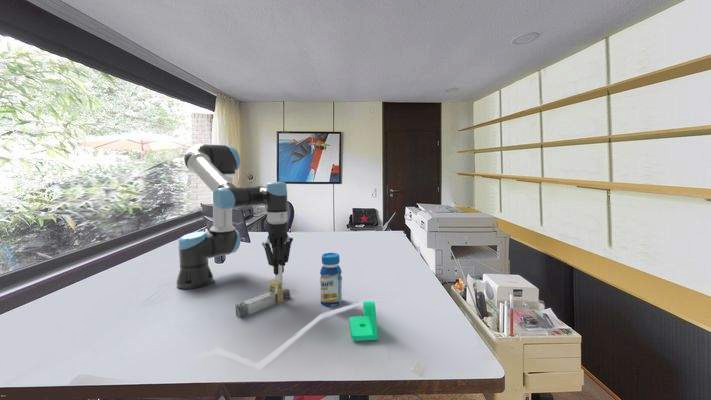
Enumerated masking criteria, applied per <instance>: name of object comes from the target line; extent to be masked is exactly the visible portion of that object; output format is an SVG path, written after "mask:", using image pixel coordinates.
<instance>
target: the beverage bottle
mask: <svg viewBox="0 0 711 400" xmlns="http://www.w3.org/2000/svg"><path fill="white" fill-rule="evenodd" d="M321 264H322V266H321V268H320V272H319V274H320V277H319V283H320V305H322V306H323V307H326V308H335V307H337V308H335V310H336V309H337V310H338V306H340V305H341V304H342V303H343V301H342V298H343V297H342V295H343V293H342V292H343V290H342V284H343V278H342V277H343V276H342V273H343V272H342V269H341V266H340V265H339V264H340V254H339V253H337V252H326V253H323V254H322V255H321Z"/></svg>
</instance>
